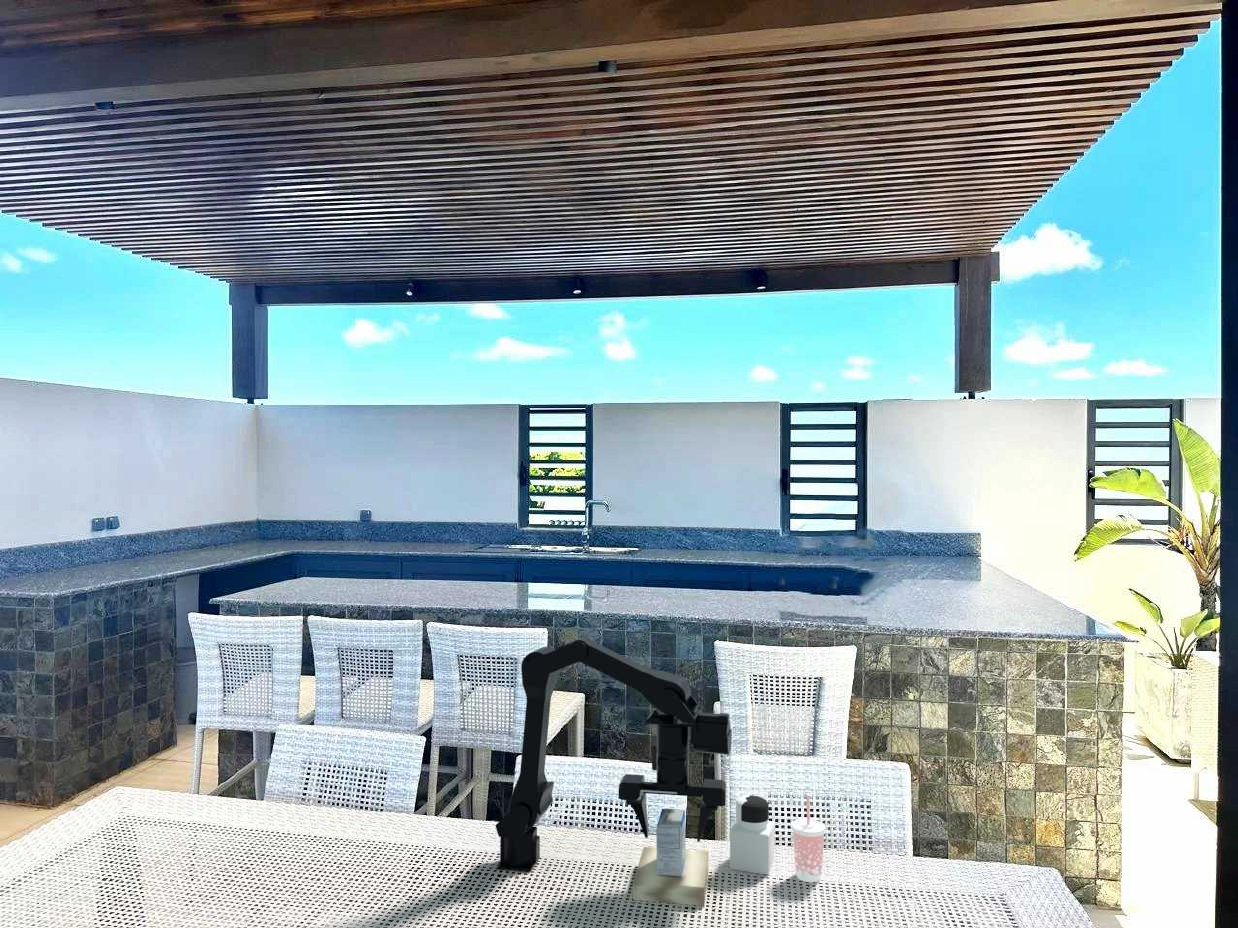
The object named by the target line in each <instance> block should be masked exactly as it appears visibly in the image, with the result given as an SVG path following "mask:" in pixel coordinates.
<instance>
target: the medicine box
mask: <svg viewBox="0 0 1238 928" xmlns="http://www.w3.org/2000/svg"><path fill="white" fill-rule="evenodd" d="M655 837H656V839H655V841H656V848H657V875H663V876H677V877H681V876H682V873H683V867H684V861H685V850H686V811H685V809H681V808H680V809H679V808H662V809H661V811H660V815H659V818H658V821H657V823H656V836H655Z"/></svg>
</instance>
